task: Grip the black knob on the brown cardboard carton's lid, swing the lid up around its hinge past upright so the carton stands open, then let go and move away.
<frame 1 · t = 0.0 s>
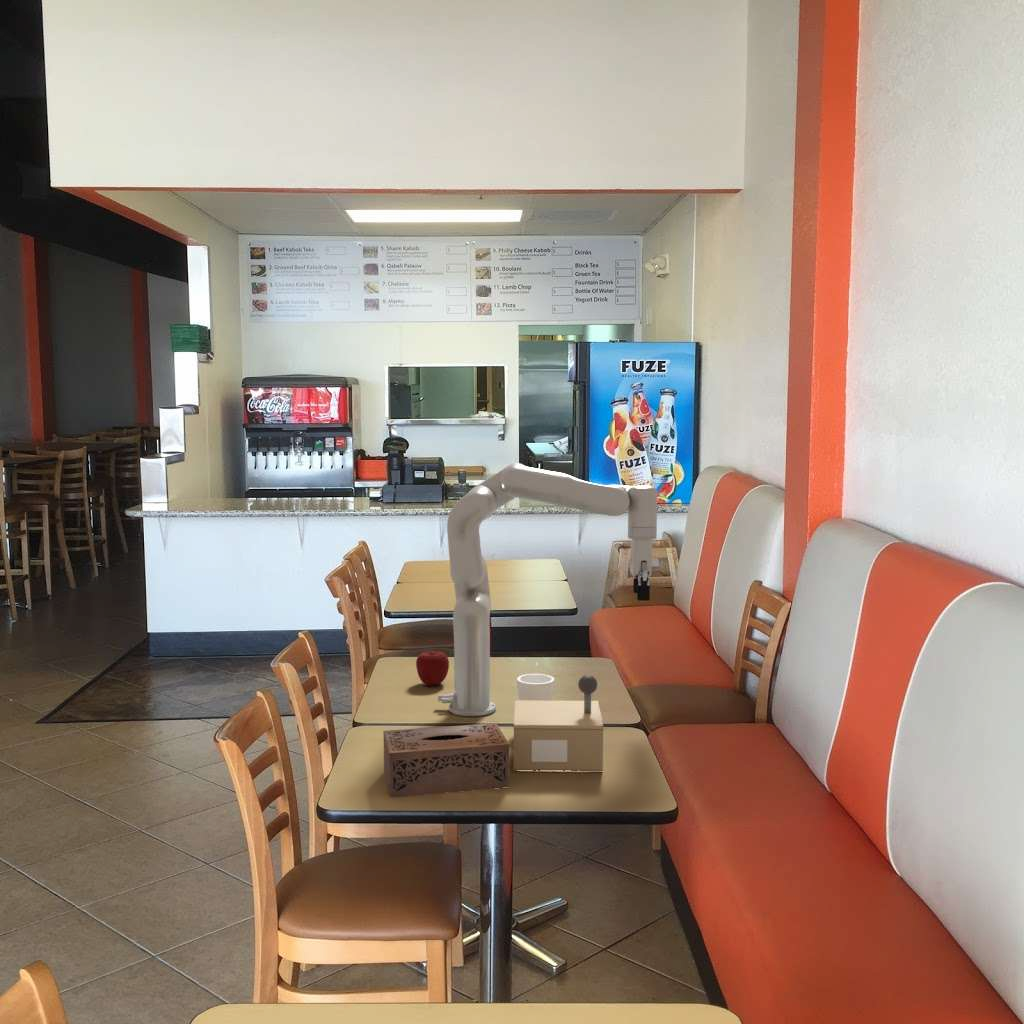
hand: (641, 596, 270), 31 cm above the table, tool pointing down, fingers open, 9 cm apart
carton lid: (557, 695, 236), point 15 cm above the table, hinge at 0.0°
tissue box cover: (445, 782, 225), on the table
apple: (432, 685, 298), on the table
carton: (557, 758, 238), on the table
foam cup: (535, 729, 259), on the table
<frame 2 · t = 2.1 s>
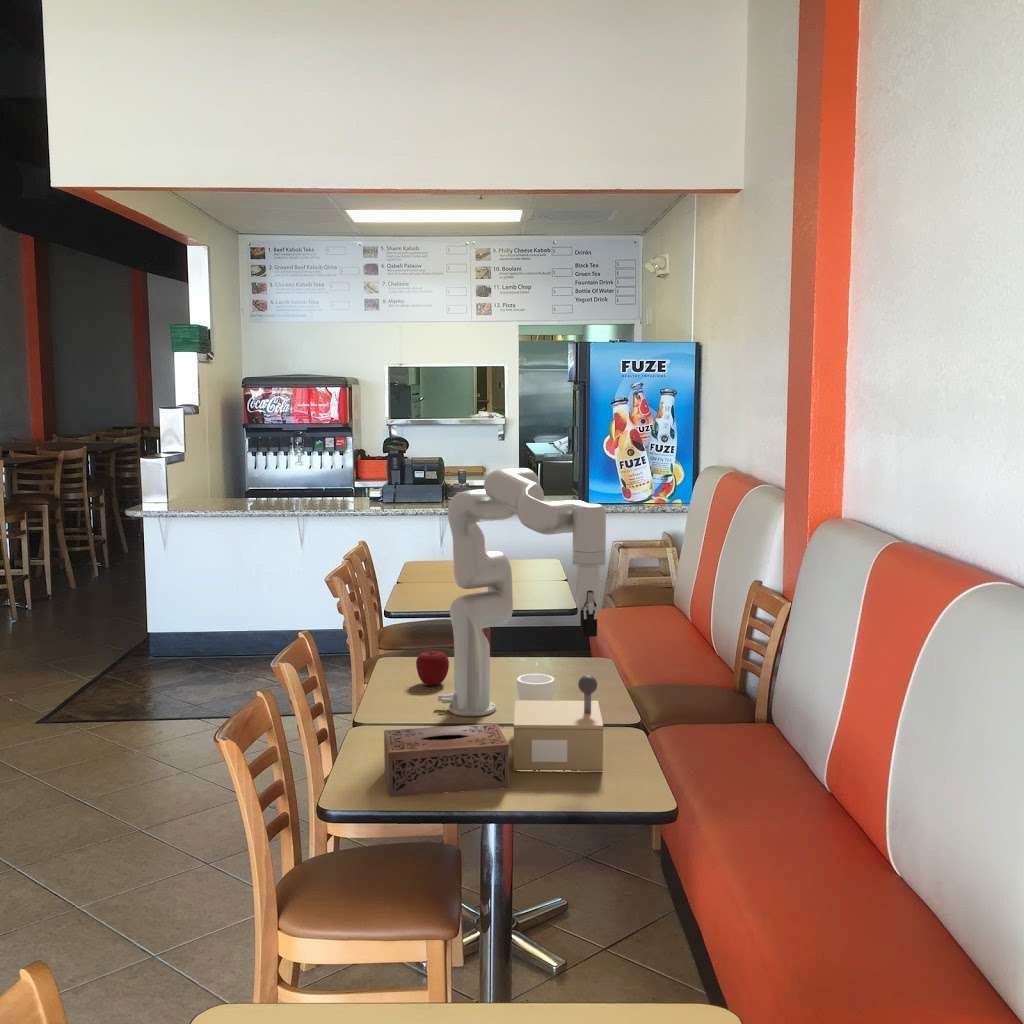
hand: (588, 631, 234), 30 cm above the table, tool pointing down, fingers open, 9 cm apart
nothing on the table moved.
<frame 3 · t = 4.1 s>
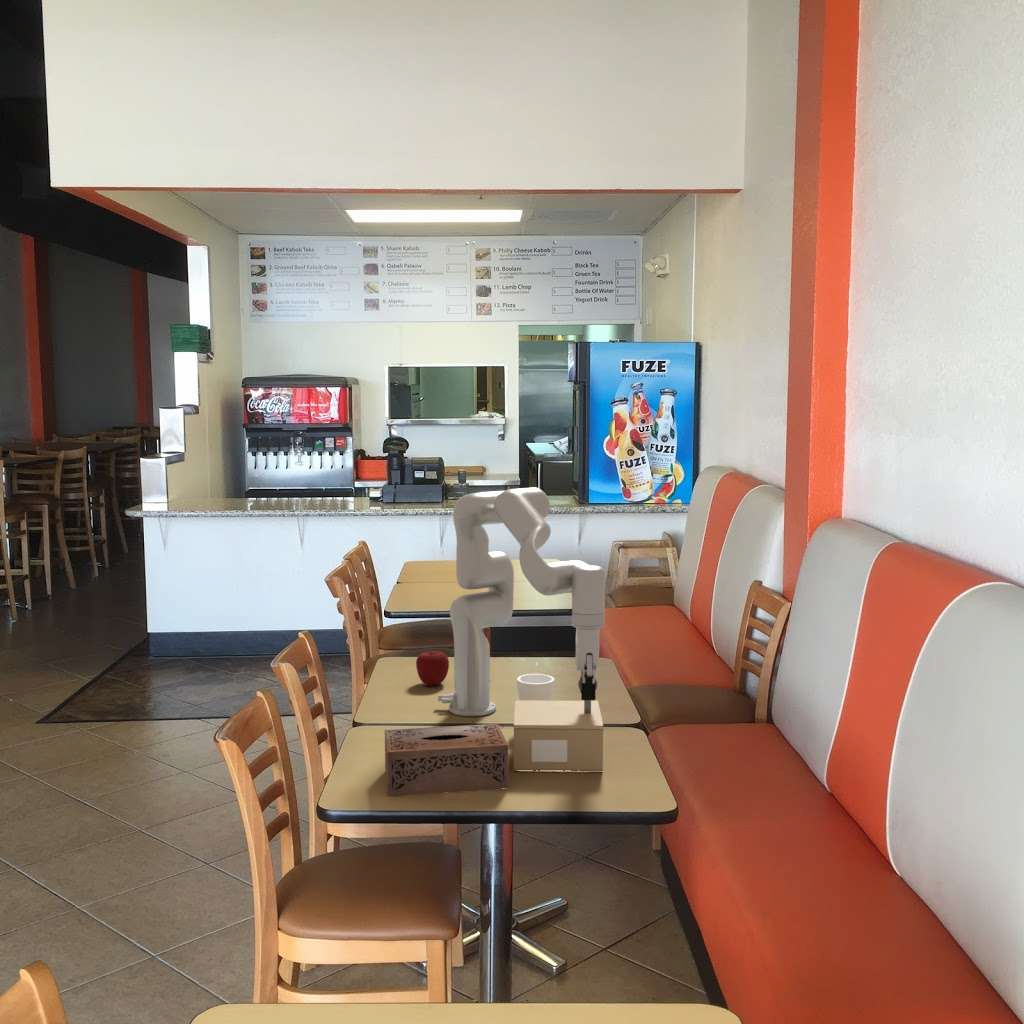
hand: (587, 695, 236), 15 cm above the table, tool pointing down, fingers closed on carton lid, 4 cm apart
carton lid: (557, 695, 236), point 15 cm above the table, hinge at 0.0°, touching gripper
everything else where it was.
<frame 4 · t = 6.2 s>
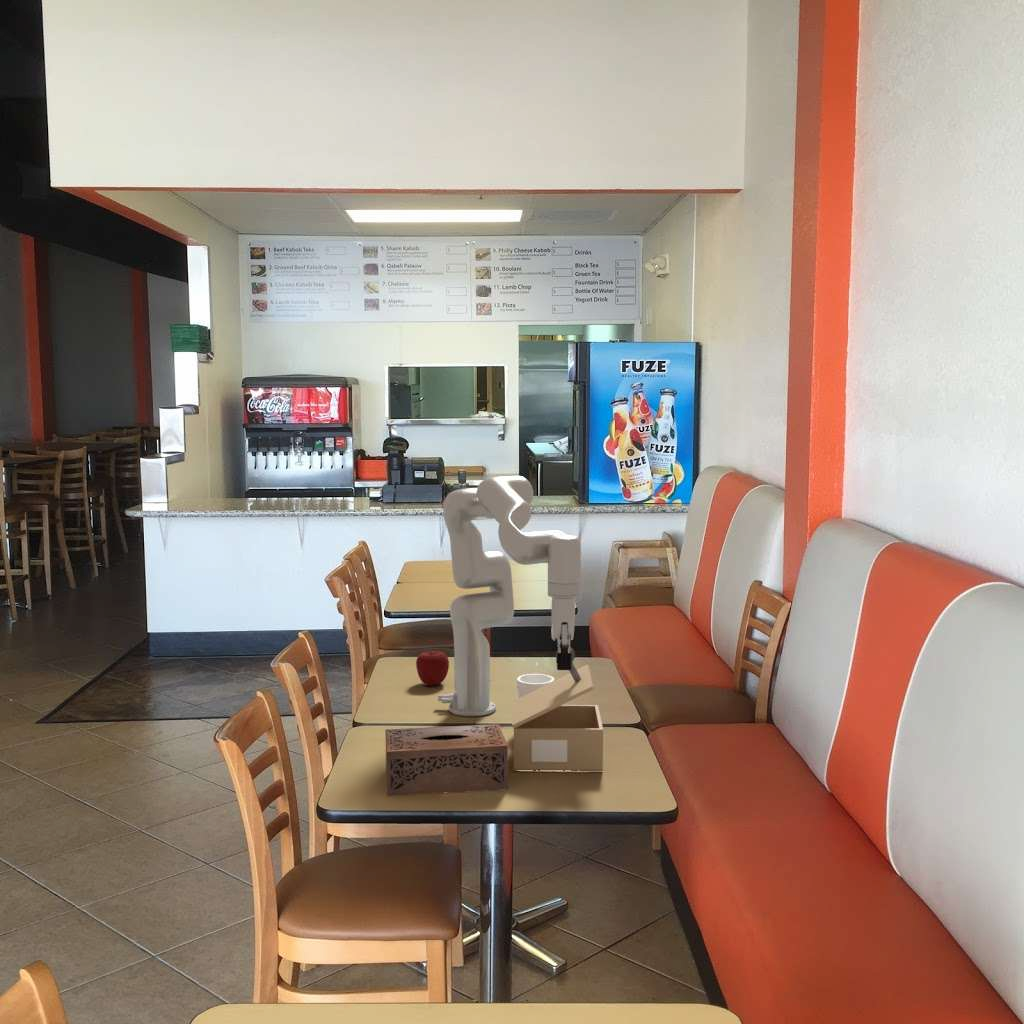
hand: (563, 665, 235), 22 cm above the table, tool pointing down, fingers closed on carton lid, 4 cm apart
carton lid: (543, 678, 236), point 19 cm above the table, hinge at 27.1°, touching gripper
everything else where it was.
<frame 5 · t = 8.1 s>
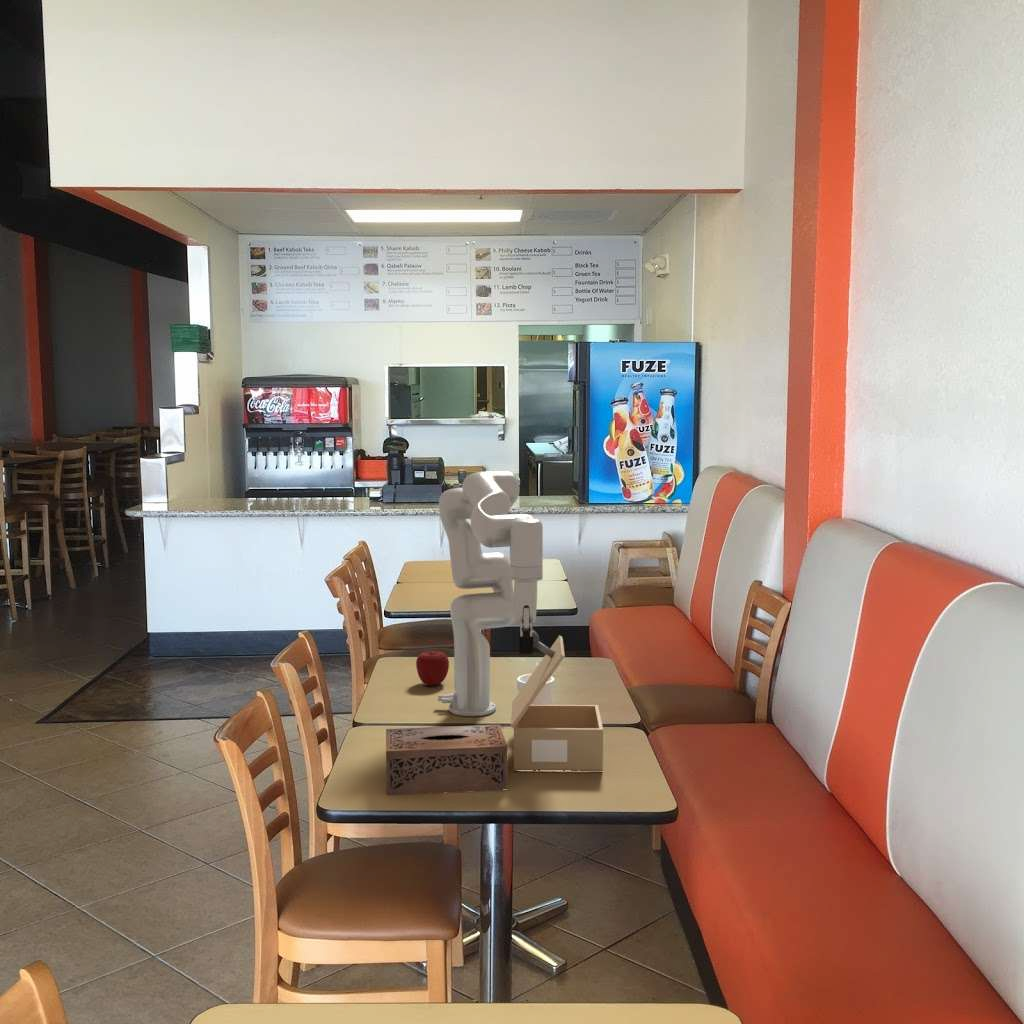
hand: (526, 649, 235), 26 cm above the table, tool pointing down, fingers closed on carton lid, 4 cm apart
carton lid: (521, 669, 236), point 21 cm above the table, hinge at 55.6°, touching gripper
everything else where it was.
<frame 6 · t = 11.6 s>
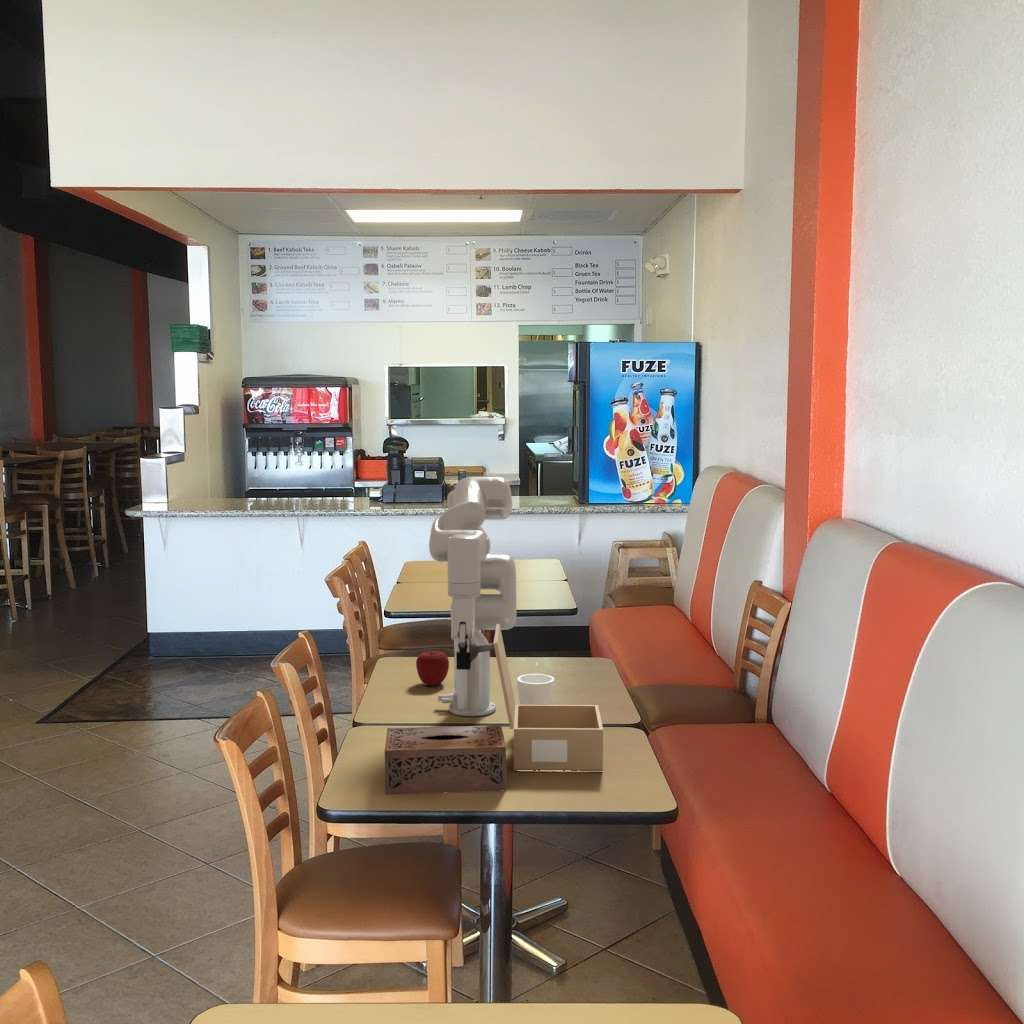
hand: (464, 664, 236), 22 cm above the table, tool pointing down, fingers open, 5 cm apart
carton lid: (485, 678, 236), point 19 cm above the table, hinge at 100.7°
everything else where it was.
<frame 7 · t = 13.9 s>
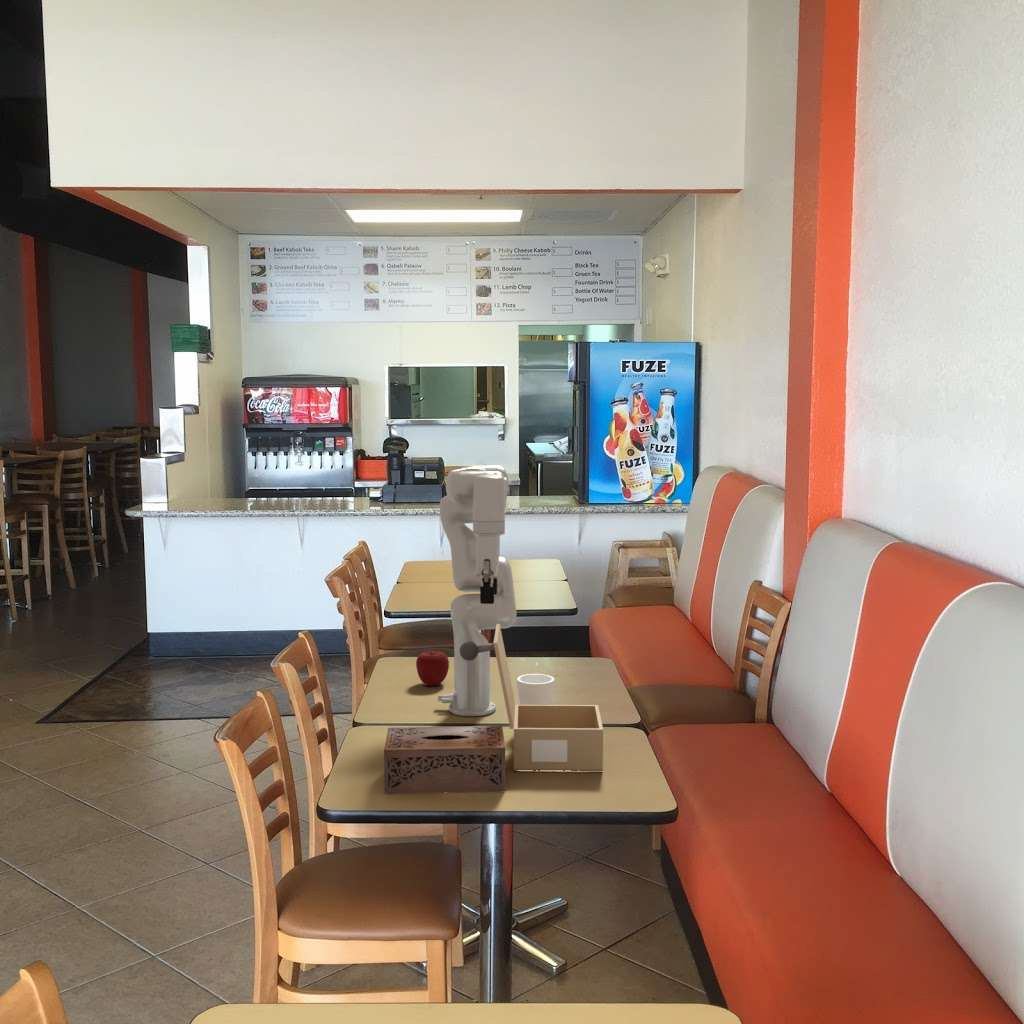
hand: (488, 598, 241), 36 cm above the table, tool pointing down, fingers open, 9 cm apart
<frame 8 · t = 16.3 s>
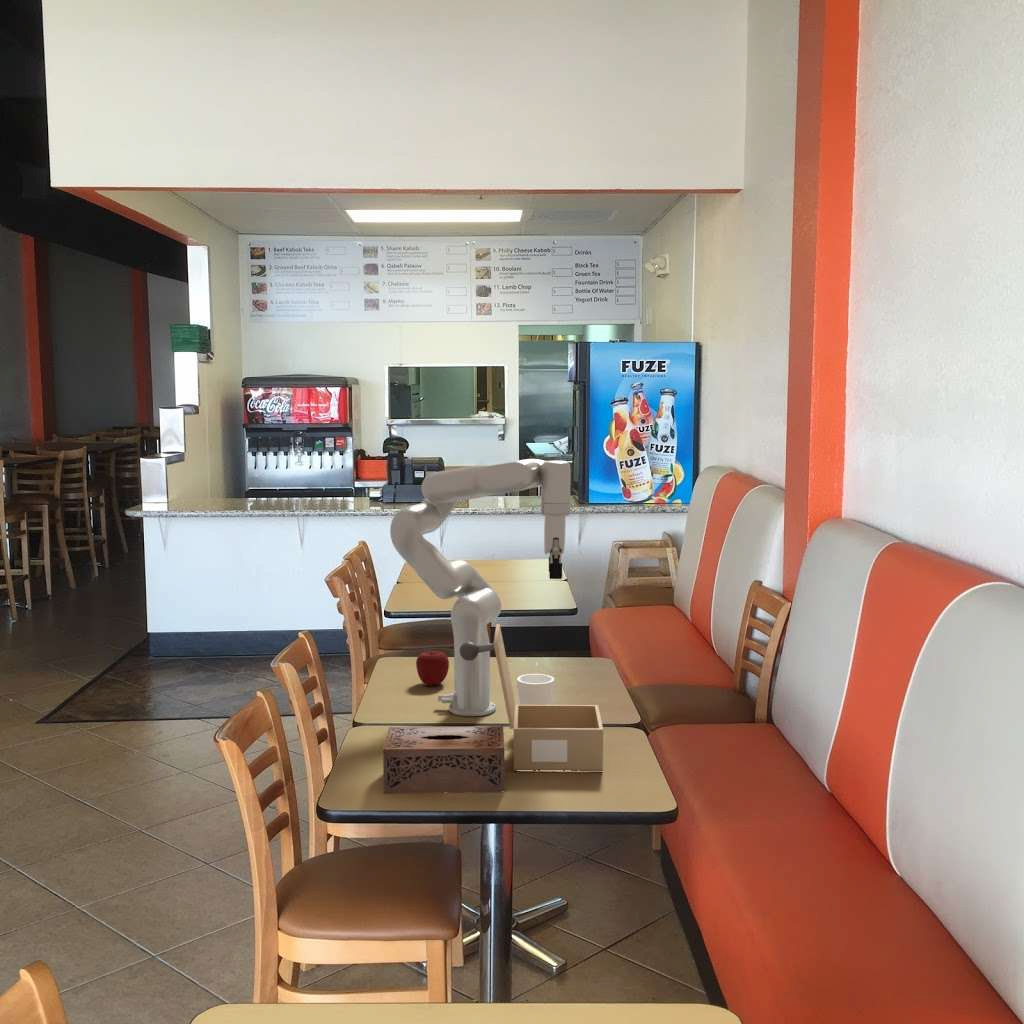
hand: (555, 575, 261), 38 cm above the table, tool pointing down, fingers open, 9 cm apart
at the end: carton lid at +101° (first picture: +0°); the gripper is holding nothing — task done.
